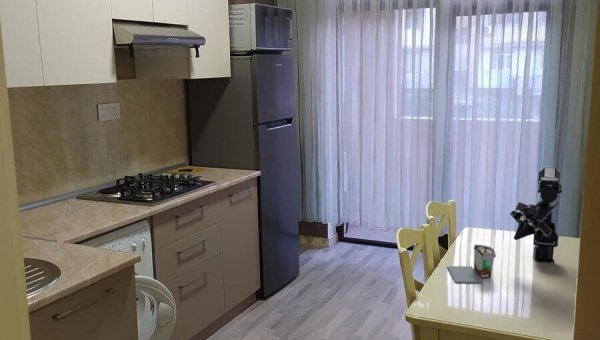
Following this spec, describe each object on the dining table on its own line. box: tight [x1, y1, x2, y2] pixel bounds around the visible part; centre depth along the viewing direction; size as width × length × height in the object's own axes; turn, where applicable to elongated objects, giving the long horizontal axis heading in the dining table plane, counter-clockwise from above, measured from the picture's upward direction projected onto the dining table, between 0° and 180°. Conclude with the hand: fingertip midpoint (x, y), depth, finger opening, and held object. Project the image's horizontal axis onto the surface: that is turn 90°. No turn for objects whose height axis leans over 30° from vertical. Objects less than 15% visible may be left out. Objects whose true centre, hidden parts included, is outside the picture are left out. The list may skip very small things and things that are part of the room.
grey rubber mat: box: [446, 265, 483, 284], centre depth 213 cm, size 10×16×1 cm, turn 176°
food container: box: [473, 244, 496, 280], centre depth 213 cm, size 12×6×10 cm, turn 179°
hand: (514, 239), depth 214 cm, fingers closed
